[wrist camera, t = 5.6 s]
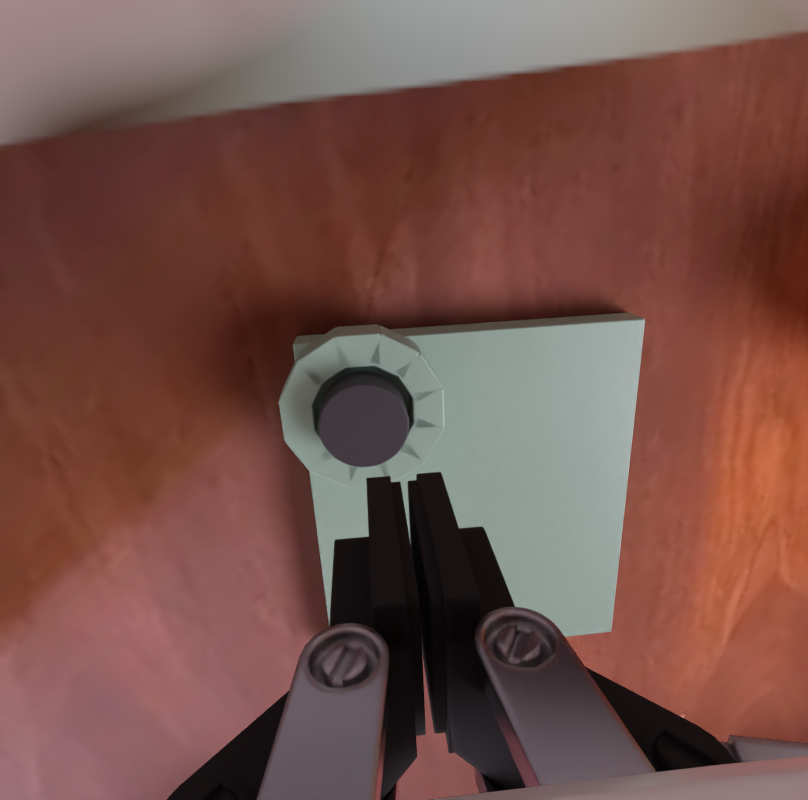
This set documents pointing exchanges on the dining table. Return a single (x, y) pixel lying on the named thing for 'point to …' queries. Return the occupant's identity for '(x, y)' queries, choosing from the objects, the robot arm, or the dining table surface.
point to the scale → (493, 444)
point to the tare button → (363, 419)
